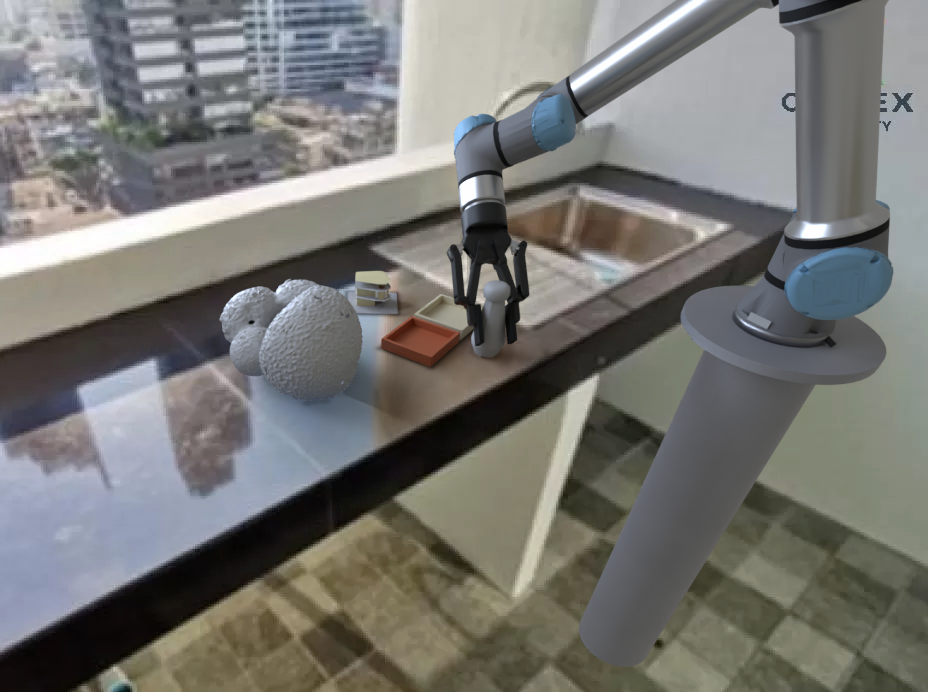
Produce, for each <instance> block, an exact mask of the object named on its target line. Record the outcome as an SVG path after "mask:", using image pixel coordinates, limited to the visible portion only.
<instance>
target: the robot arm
mask: <svg viewBox="0 0 928 692" xmlns="http://www.w3.org/2000/svg"><path fill="white" fill-rule="evenodd" d="M889 1H890V0H674V1H672V2H671V3H670V4H668V5H667V6H665V7H664V8H662V9H661V10H660V11H658V12H657V13H656V14H654V15H652V16H651V17H650V18H648V19H647V20H646V21H644V22H643V23H641V24H639V25H638V26H637V27H635V28H634V29H632V30H631V31H629V32H628V33H627V34H626V35H624V36H622V37H621V38H620V39H618V40H616V42H614V43H613V44H611V45H610V46H608V47H607V48H606V49H604V50H603V51H601V52H600V53H599V54H597V55H595V56H594V57H593V58H591V59H590V60H589V61H587V62H586V63H584V64H582V65H581V66H580V67H578V68H577V69H575V70H573V72H571V73H570V74H569V75H568V76H566V77H564V78H563V79H561V80H560V81H558V82H557V83H556V84H555V85H553V86H550V87H548V88H547V89H545V90H544V91H543V92H541V93H540V94H539V95H538V96H537V97H536V99H534V100H533V101H532V102H530V103H529V104H528V105H527V106H526V107H525V108H523V109H521V110H519V111H517V112H515V113H513V114H511V115H509V116H507V117H505V118H503V119H500V120H498V121H497V119H496V118H495V117H494V116H493V115H491V114H488V113H479V114H477V115H470V116H468V117H465V118H464V119H462V120H461V121H460V122H459V123H458V124H457V125H456V127H455V129H454V133H453V146H454V149H453V155H454V160H455V166H456V167H455V169H456V177H457V188H458V190H457V191H458V199H459V210H460V213H461V215H460V222H461V234H462V239H461V242H460V243H458V244H455V243H454V244H451V245H450V246H449V248H448V249H447V251H446V255H447V257H448V260H449V262H450V269H451V280H452V281H451V282H452V292H453V298H454V303H455V304H456V305H462V306H464V308H465V309H466V313H467V323H468V325H469V326H473V331H474V339H475V346H480V345H481V344H483V343H484V333H483V322H482V312H481V306H482V304H481V303H476V302H477V297H478V290H479V283H480V278H481V276H480V275H481V271H482V266H483V265H486V264H487V265H491V266H492V268H493V270H494V271H495V272H496V275H497V278H498V281H503V282H506V283H507V284H508V285H509V286H510V296H509V298H508V299H507V300H506V304H505V336H506V344H507V345H513V344H514V343H516V342H517V341H518V334H517V333H518V330H517V324H518V323H519V322H520V321H521V310H520V303H522V302H524V301H525V300H526V299H528V298H529V297H530V295H531V294H530V286H529V285H530V284H529V276H528V268H527V259H526V253H527V252H526V251H527V248H528V242H527V241H526V240H521V241H517V240H513V239H512V236H511V235H510V234H509V226H508V215H507V208H506V206H505V204H506V197H505V196H506V195H505V187H504V178H503V171H504V170H506V169H509V168H511V167H514V166H515V165H518V164H521V163H523V162H526V161H529V160H530V159H533V158H536V157H538V156H540V155H543V154H544V155H545V154H546V153H549V152H554V151H556V150H557V149H558V148H560V147H562V146H563V147H564V146H565V145H567V144H569V143H571V142H572V141H573V140H574V138H575V137H576V130H577V125H578V124H579V123H581V122H582V121H584V120H585V119H587V118H588V117H590V116H591V115H593V114H594V113H596V112H598V111H599V110H601V109H602V108H603V107H605V106H607V105H608V104H610V103H611V102H613V101H615V100H616V99H618V98H619V97H621V96H622V95H624V94H626V93H627V92H629V91H630V90H632V89H633V88H635V87H637V86H638V85H641V84H642V83H644V82H645V81H646V80H648V79H650V78H651V77H652V76H654V75H656V74H657V73H659V72H661V71H662V70H664V69H665V68H667V67H668V66H670V65H672V64H673V63H675V62H676V61H678V60H680V59H681V58H683V57H685V56H686V55H687V54H689V53H691V52H692V51H694V50H695V49H697V48H698V47H700V46H702V45H704V44H705V43H707V42H708V41H710V40H712V39H713V38H715V37H716V36H717V35H719V34H721V33H723V32H724V31H726V30H727V29H729V28H730V27H732V26H734V25H735V24H736V23H738V22H740V21H741V20H743V19H745V18H746V17H748V16H750V15H751V14H753V13H754V12H756V11H757V10H759V9H768V10H769V9H770V10H772V9H774V8H775V7H778V23H779V27H781V28H782V29H784V30H786V31H788V32H789V33H791V34H792V35H793V38H794V105H795V106H794V108H795V115H794V117H795V180H796V181H795V182H796V184H795V188H796V190H795V192H796V195H795V196H796V207H795V208H794V209H793V210H792V216H791V217H790V220H789V222H788V224H787V225H786V226H784V228H783V234H782V236H781V238H780V240H779V243H778V244H777V246H776V248H775V251H774V253H773V254H772V257H771V259H770V261H769V263H768V265H767V267H766V270H765V271H764V274H763V275H762V277H761V278H760V280H759V281H757V283H756V284H755V285H753V286H754V287H753V288H752V289H751V290H750V291H749V292H748V293H747V294H746V295H745V296H744V297H743V298H742V299H741V301H740V302H739V303H738V304H737V306H736V308H735V310H734V312H733V314H732V318H733V321H734V322H735V324H736V325H737V326H738V327H739V328H741V329H742V330H743V331H745V332H746V333H748V334H750V335H752V336H754V337H756V338H759V339H761V340H764V341H767V342H770V343H774V344H778V345H782V346H788V347H798V348H809V347H817V346H821V345H823V344H825V343H827V344H828V345H829V347H830V348H831V347H833V346H835V345H836V343H835V342H834V341H833V339H832V338H831V335H832V334H833V332H834V330H835V325H836V320H838V319H844V318H848V317H852V316H855V317H856V316H857V315H859V314H862V313H864V312H866V311H868V310H869V309H870V308H872V307H874V306H875V305H877V304H878V303H879V302H880V301H881V300H883V298H884V297H885V296H886V294H887V293H888V292H889V290H890V288H891V287H892V282H893V276H894V267H893V266H892V265H893V264H892V262H891V260H890V259H889V245H890V244H889V243H890V242H889V241H890V222H891V208H890V206H889V205H888V204H887V203H886V202H883V201H881V200H878V199H877V188H878V186H877V185H878V182H877V181H878V167H879V166H878V164H879V163H878V162H879V144H880V143H879V141H880V121H881V119H880V118H881V99H882V80H883V76H882V75H883V56H884V35H885V15H886V14H885V13H886V6H887V4H888V3H889ZM508 249H510V253H511V255H512V264H513V271H514V273H513V274H514V279H513V276H512V273H511V270H510V267H509V264H508V258H507V255H506V253H507V251H508ZM463 253H465V254H466V255H467V257H468V258H469V259H470V265H469V276H468V282H467V288H466V293H465V281H464V269H463V259H462V256H463ZM514 281H515V282H514Z"/></svg>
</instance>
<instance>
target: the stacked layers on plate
mask: <svg viewBox="0 0 928 692" xmlns="http://www.w3.org/2000/svg"><path fill="white" fill-rule="evenodd" d="M354 278H355V279H354V281H355V283H354V291H348V292H347V300H349V302H350V303H351V305H352V306H353V308H354V309H355V310H356V314H371V315H372V314H375V315H376V314H379V315H398V314H399V310H398V295H397V293H398V292H389V290H391V289H392V286H391V284H390V283H391V282H392V279H391V278H390V277H389V275H388V273H387V272H385V271H383V270H367V271H366V270H365V271H356V272H355V277H354Z"/></svg>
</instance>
